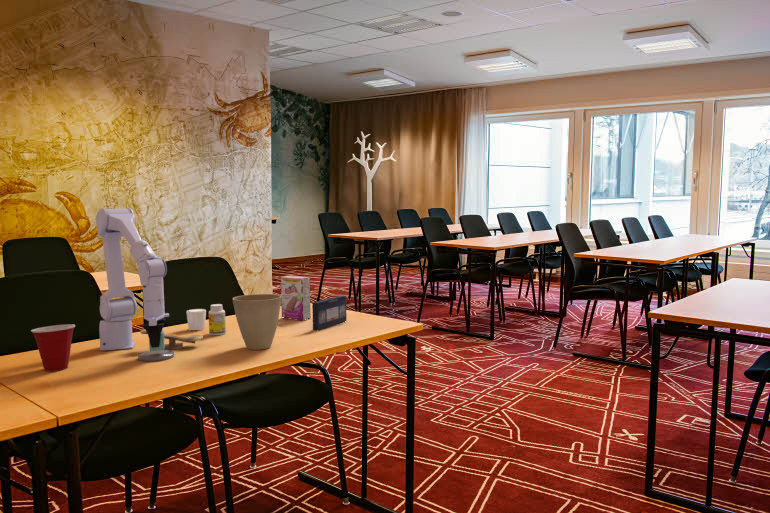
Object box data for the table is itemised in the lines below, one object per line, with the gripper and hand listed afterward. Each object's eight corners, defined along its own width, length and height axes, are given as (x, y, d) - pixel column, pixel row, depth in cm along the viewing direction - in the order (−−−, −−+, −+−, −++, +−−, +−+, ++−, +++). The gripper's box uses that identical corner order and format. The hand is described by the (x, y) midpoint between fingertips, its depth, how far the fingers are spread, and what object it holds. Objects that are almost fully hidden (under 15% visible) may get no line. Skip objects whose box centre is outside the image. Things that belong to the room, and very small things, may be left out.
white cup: (203, 331, 218) (202, 311, 218) (184, 331, 219) (183, 312, 218) (209, 327, 225) (208, 308, 225) (190, 327, 225) (189, 308, 225)
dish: (136, 363, 175) (136, 359, 175) (140, 354, 185) (139, 351, 185) (173, 360, 178) (173, 356, 178) (175, 352, 188) (174, 348, 188)
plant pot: (290, 343, 198) (289, 294, 196) (269, 354, 184) (268, 301, 182) (248, 340, 202) (247, 292, 200) (225, 351, 188) (223, 300, 186)
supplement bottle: (209, 333, 215) (207, 304, 214) (225, 331, 217) (224, 303, 216) (209, 336, 210) (208, 306, 209) (226, 335, 211) (225, 305, 211)
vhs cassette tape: (318, 330, 217) (317, 303, 216) (311, 330, 218) (310, 302, 218) (347, 321, 232) (347, 295, 232) (341, 321, 234) (341, 295, 233)
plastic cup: (67, 361, 178) (64, 320, 177) (84, 367, 171) (82, 325, 170) (26, 369, 170) (23, 327, 169) (43, 376, 163) (40, 331, 162)
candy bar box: (280, 318, 241) (279, 277, 239) (289, 316, 245) (288, 275, 244) (303, 321, 235) (302, 278, 233) (311, 318, 239) (310, 277, 238)
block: (149, 351, 179) (148, 334, 178) (150, 348, 183) (149, 331, 182) (164, 350, 180) (163, 333, 180) (164, 347, 184) (163, 330, 184)
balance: (140, 352, 188) (139, 332, 187) (142, 348, 194) (141, 328, 193) (203, 348, 193) (202, 328, 192) (203, 343, 199) (202, 324, 198)
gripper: (166, 302, 174) (168, 349, 175) (169, 295, 188) (171, 339, 189) (140, 304, 172) (142, 351, 173) (144, 296, 186) (147, 340, 187)
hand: (155, 345), depth 181 cm, fingers closed on block, 4 cm apart
